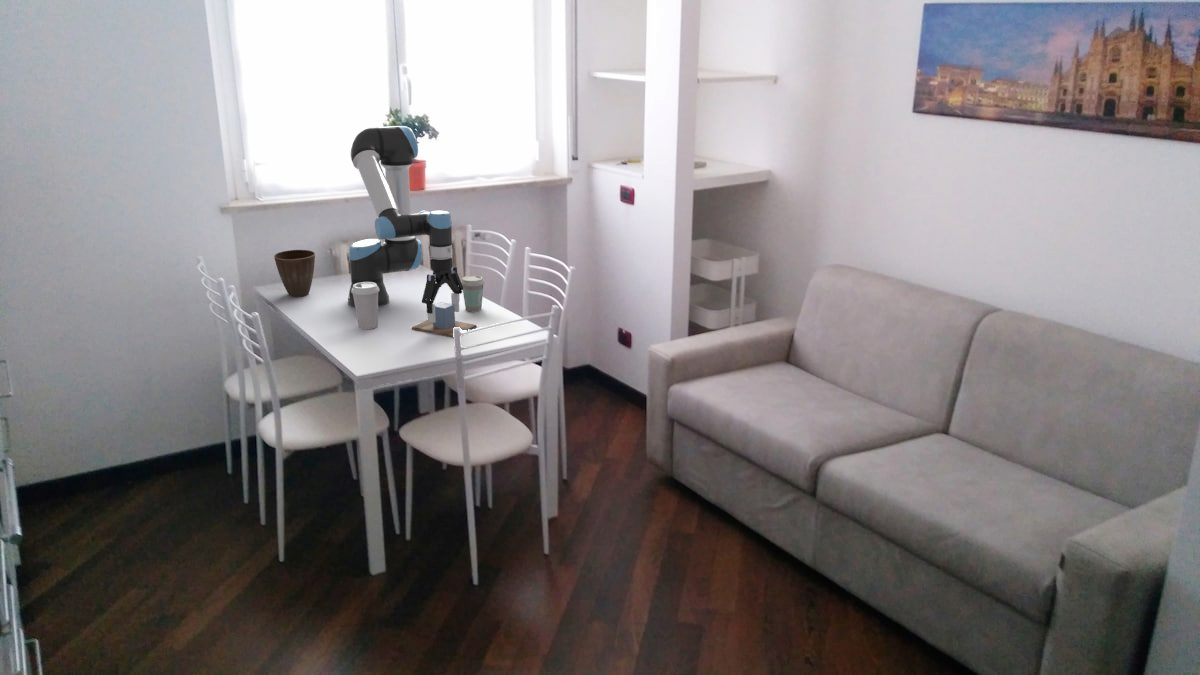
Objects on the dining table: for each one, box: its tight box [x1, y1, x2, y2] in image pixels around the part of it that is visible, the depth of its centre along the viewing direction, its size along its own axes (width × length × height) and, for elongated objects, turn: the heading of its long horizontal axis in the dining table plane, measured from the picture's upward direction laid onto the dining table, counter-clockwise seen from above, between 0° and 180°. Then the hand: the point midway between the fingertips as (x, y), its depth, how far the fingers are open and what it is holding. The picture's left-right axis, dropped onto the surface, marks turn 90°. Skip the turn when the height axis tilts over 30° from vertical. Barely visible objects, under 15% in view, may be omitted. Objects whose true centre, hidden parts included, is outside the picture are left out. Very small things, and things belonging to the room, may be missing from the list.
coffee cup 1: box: [351, 282, 380, 330], centre depth 318 cm, size 10×10×15 cm
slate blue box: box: [433, 301, 456, 329], centre depth 318 cm, size 5×5×8 cm
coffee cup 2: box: [460, 275, 485, 312], centre depth 339 cm, size 8×9×12 cm
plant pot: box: [273, 249, 316, 298], centre depth 352 cm, size 15×15×16 cm
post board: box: [411, 319, 478, 338], centre depth 319 cm, size 18×13×7 cm
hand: (443, 316), depth 318 cm, fingers open, 13 cm apart
